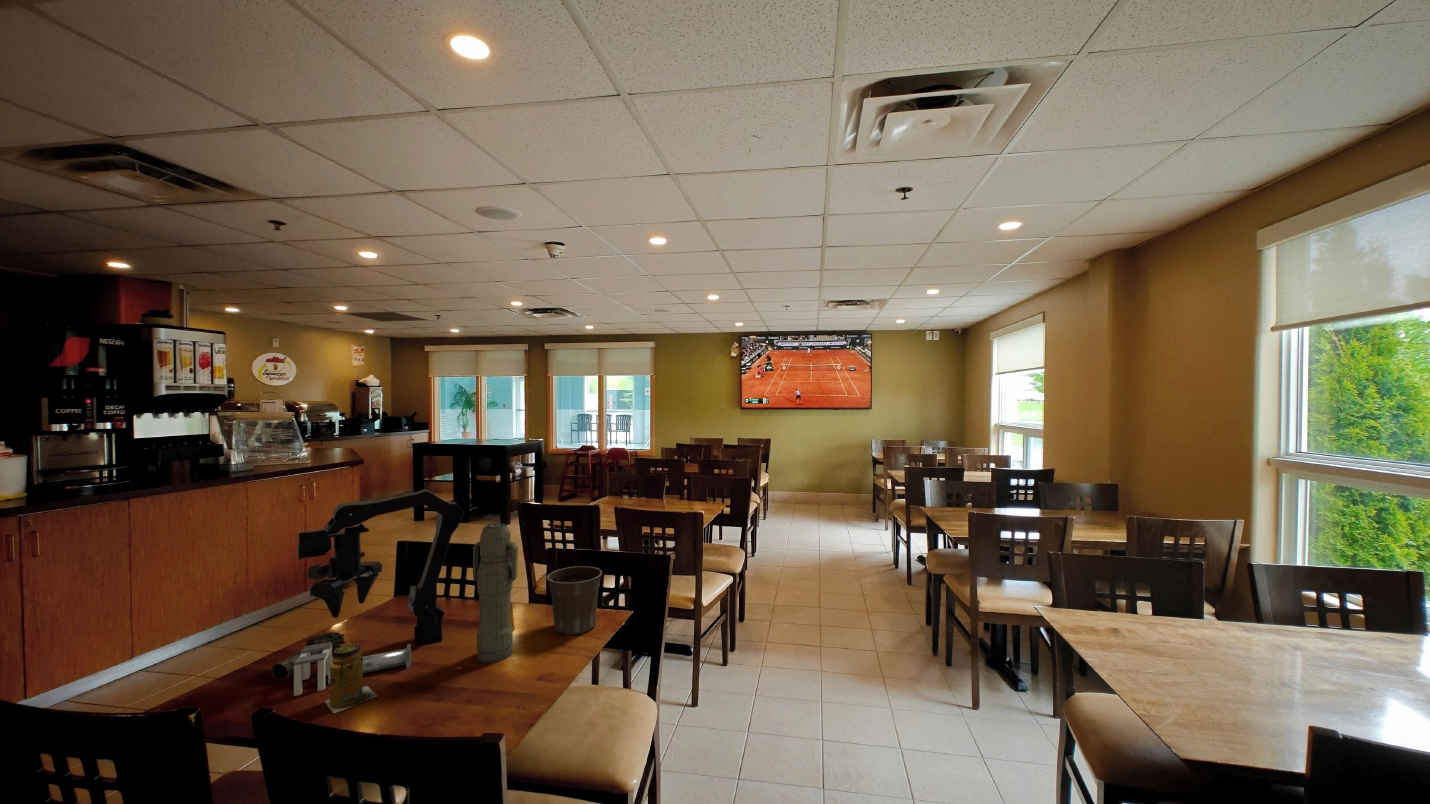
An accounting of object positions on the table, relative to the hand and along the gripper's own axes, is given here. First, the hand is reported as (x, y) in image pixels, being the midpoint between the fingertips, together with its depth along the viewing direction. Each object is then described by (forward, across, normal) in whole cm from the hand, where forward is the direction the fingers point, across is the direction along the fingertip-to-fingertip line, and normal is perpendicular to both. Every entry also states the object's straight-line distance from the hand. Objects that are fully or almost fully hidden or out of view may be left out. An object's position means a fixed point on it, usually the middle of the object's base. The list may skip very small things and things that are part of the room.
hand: (348, 610), depth 136 cm
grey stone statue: (+14, -4, +37) cm, 40 cm away
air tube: (+14, +6, +10) cm, 18 cm away
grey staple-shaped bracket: (+13, +11, 0) cm, 17 cm away
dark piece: (+14, +1, -10) cm, 17 cm away
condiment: (+14, +18, +14) cm, 26 cm away
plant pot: (+15, -22, +53) cm, 59 cm away
